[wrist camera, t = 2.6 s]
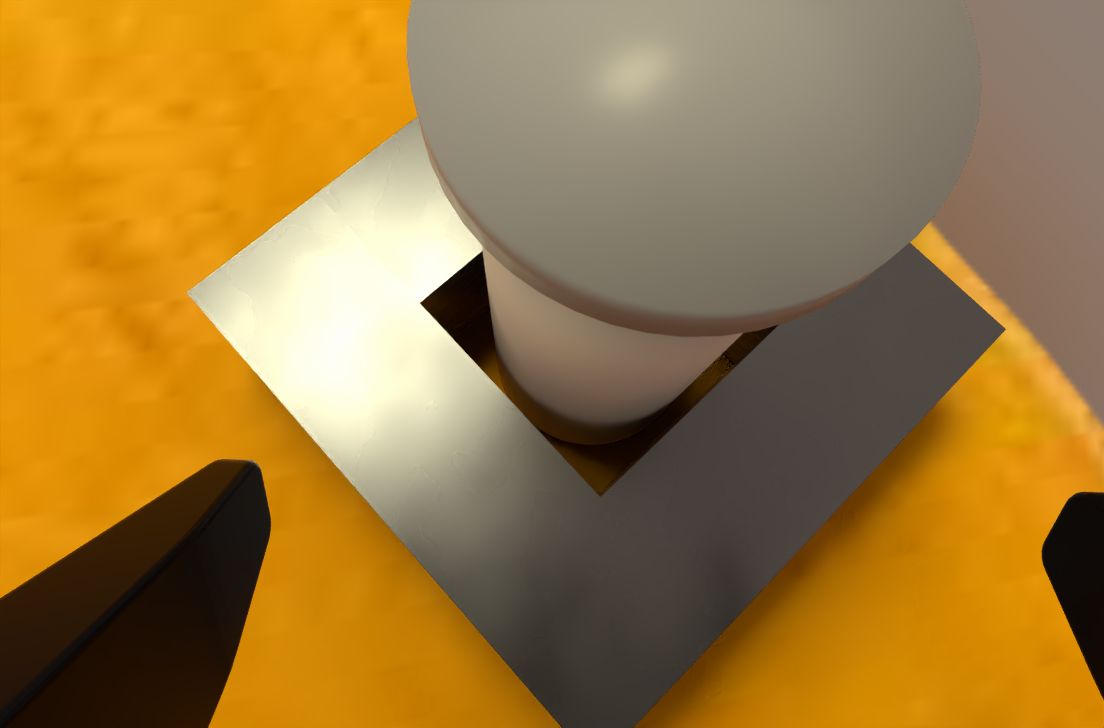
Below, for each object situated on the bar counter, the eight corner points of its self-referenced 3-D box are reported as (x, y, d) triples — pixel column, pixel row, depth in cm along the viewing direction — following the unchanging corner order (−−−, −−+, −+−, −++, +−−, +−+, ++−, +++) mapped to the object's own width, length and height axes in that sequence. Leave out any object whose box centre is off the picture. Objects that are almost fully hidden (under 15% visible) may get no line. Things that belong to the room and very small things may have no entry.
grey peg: (743, 359, 19) (1094, 62, 8) (585, 512, 18) (705, 444, 6) (592, 209, 20) (690, -265, 8) (432, 345, 19) (285, 15, 7)
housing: (912, 371, 20) (1005, 329, 16) (579, 718, 17) (595, 767, 14) (593, 71, 22) (608, -29, 18) (253, 343, 20) (186, 292, 16)
